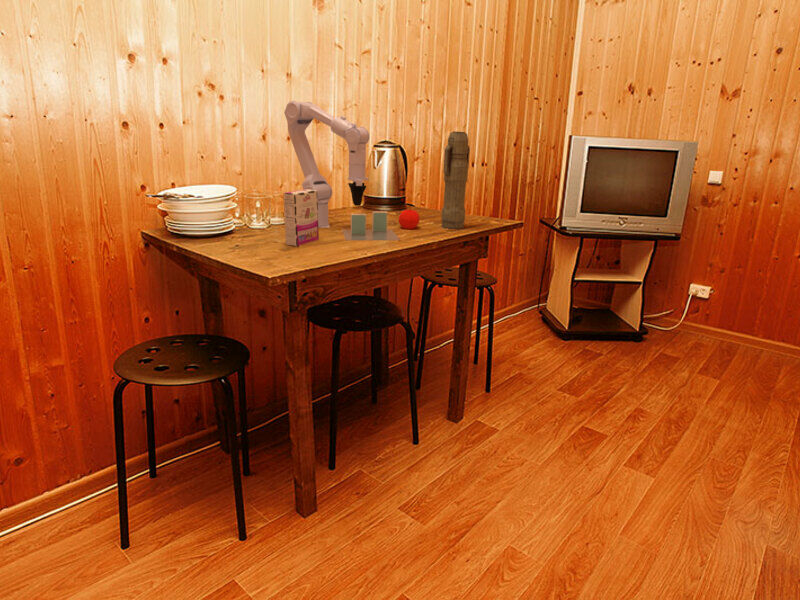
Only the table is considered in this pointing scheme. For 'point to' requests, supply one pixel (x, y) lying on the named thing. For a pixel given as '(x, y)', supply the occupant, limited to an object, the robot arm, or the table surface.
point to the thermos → (455, 180)
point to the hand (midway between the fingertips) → (356, 204)
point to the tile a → (358, 224)
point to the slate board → (371, 235)
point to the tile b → (379, 222)
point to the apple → (409, 219)
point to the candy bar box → (301, 217)
